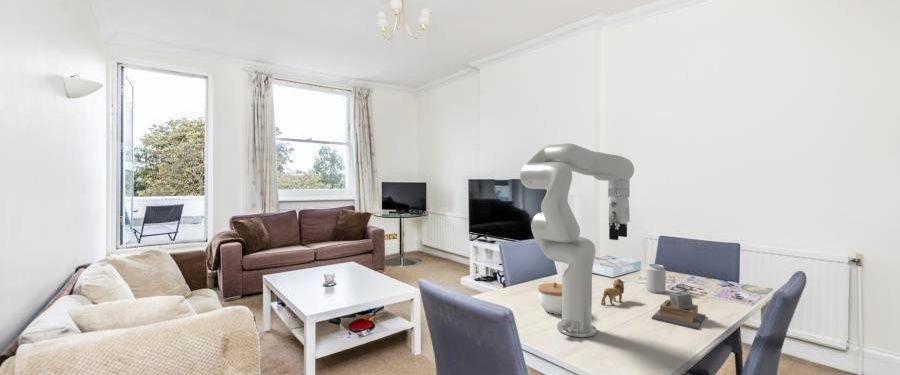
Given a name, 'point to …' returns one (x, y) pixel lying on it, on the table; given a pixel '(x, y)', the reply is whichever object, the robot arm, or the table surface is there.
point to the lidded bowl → (551, 297)
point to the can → (656, 278)
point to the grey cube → (681, 300)
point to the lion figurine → (614, 292)
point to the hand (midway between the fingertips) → (618, 238)
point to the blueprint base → (681, 323)
